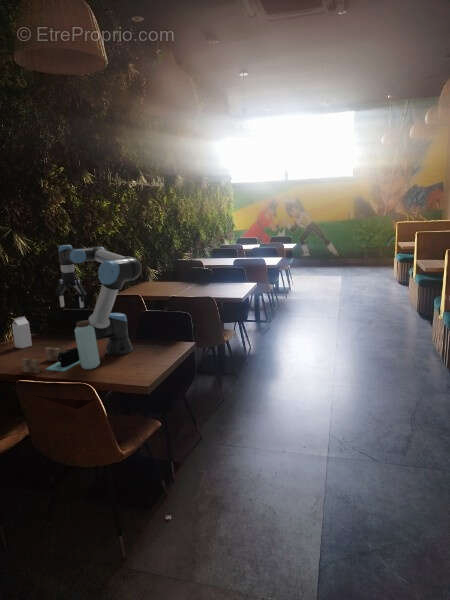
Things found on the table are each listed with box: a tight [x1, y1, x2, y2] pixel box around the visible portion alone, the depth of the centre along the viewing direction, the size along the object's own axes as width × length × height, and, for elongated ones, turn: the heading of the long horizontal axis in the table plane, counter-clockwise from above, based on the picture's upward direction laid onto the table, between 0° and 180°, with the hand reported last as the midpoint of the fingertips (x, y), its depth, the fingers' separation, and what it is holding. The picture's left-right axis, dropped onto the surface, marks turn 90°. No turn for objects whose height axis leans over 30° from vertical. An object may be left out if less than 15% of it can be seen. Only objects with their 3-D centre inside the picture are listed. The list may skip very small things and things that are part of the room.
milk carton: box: [11, 315, 33, 349], centre depth 261 cm, size 7×7×19 cm
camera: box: [57, 346, 80, 367], centre depth 228 cm, size 14×7×8 cm, turn 156°
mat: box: [45, 360, 80, 373], centre depth 227 cm, size 12×18×1 cm, turn 163°
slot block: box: [21, 347, 62, 374], centre depth 226 cm, size 9×20×7 cm, turn 164°
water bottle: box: [73, 319, 101, 370], centre depth 220 cm, size 10×10×25 cm
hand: (72, 307), depth 247 cm, fingers open, 13 cm apart
